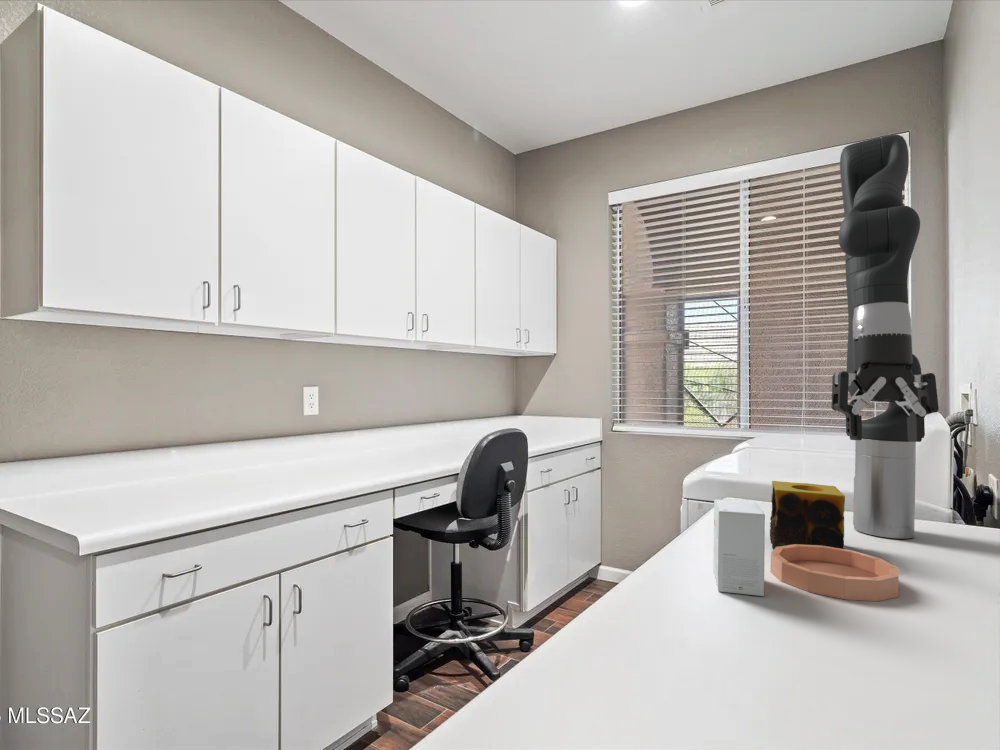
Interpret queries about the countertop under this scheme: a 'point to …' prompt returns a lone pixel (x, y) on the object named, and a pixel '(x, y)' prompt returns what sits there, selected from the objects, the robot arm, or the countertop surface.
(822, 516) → the yellow and black cube
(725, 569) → the small box
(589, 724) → the countertop surface
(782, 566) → the round tray
